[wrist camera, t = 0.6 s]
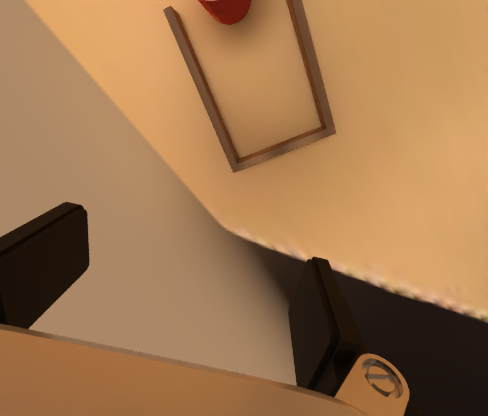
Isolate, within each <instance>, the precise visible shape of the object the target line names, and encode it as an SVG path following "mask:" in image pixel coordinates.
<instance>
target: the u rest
mask: <svg viewBox="0 0 488 416" xmlns="http://www.w3.org/2000/svg"><path fill="white" fill-rule="evenodd" d="M287 4H288V7H289V11H290V14H291V18H292V21H293V25H294V29H295V32H296V36H297V39H298V43H299V46H300V50H301V54H302V57H303V61H304V64H305V68H306V71H307V75H308V79H309V82H310V86H311V89H312V93H313V96H314V100H315V104H316V107H317V111H318V114H319V118H320V122H321V125H322V127H319V128H317V129H314V130H312V131H309V132H307V133H304V134H302V135H299V136H297V137H294V138H292V139H289V140H287V141H284V142H281V143H279V144H276V145H274V146H271V147H269V148H266V149H264V150H261V151H259V152H256V153H254V154H251V155H249V156H246V157H243V158H241V159H238V156H237V154H236V152H235V149H234V147H233V144H232V142H231V140H230V137H229V135H228V132H227V130H226V128H225V125H224V123H223V120H222V118H221V115H220V113H219V111H218V108H217V106H216V103H215V101H214V99H213V96H212V94H211V91H210V89H209V87H208V84H207V82H206V79H205V77H204V75H203V72H202V70H201V67H200V65H199V63H198V60H197V58H196V55H195V53H194V50H193V48H192V46H191V43H190V41H189V38H188V36H187V34H186V31H185V29H184V26H183V24H182V22H181V19H180V17H179V14H178V13H177V12H176V11H175V10H174V9H173V8H172V7H171V6H169V7H167V8H166V9H164V10H163V11H164V13H165V15H166V18H167V20H168V22H169V25H170V27H171V29H172V32H173V34H174V36H175V39H176V41H177V43H178V46H179V48H180V50H181V52H182V55H183V57H184V59H185V62H186V64H187V66H188V69H189V71H190V73H191V76H192V78H193V80H194V83H195V85H196V87H197V90H198V92H199V94H200V96H201V99H202V101H203V103H204V106H205V108H206V110H207V113H208V115H209V117H210V120H211V122H212V124H213V127H214V129H215V131H216V134H217V136H218V138H219V141H220V143H221V145H222V147H223V150H224V152H225V154H226V157H227V159H228V161H229V164H230V166H231V168H232V171H233V173H234V172H237V171H239V170H242V169H245V168H247V167H250V166H252V165H255V164H258V163H260V162H263V161H265V160H268V159H271V158H273V157H276V156H278V155H281V154H284V153H286V152H289V151H291V150H294V149H297V148H299V147H302V146H304V145H307V144H310V143H312V142H315V141H317V140H320V139H323V138H325V137H328V136H330V135H333V134H336V130H335V126H334V123H333V119H332V115H331V111H330V107H329V104H328V100H327V96H326V92H325V88H324V84H323V81H322V77H321V73H320V69H319V65H318V62H317V58H316V54H315V50H314V46H313V43H312V39H311V35H310V31H309V27H308V23H307V20H306V16H305V12H304V8H303V4H302V1H301V0H287Z"/></svg>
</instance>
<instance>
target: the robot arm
mask: <svg viewBox="0 0 488 416" xmlns="http://www.w3.org/2000/svg"><path fill="white" fill-rule="evenodd" d="M87 221H88V220H87V211H86V210H85V209H84V208H83V206H82V205H78V204H73V203H70V202H65V203H62V204H61V205H59V206H57V207H55V208H53V209H51V210H50V211H48V212H46V213H44V214H42V215H40V216H39V217H37V218H35V219H33V220H31V221H29V222H28V223H26V224H24V225H22V226H20V227H18V228H17V229H15V230H13V231H11V232H9V233H7V234H6V235H4V236H2V237H0V416H426V415H424V414H423V413H422V412H421V411H420V410H419V409H418V408H416V407H415V406H414V405H413V404H412V403H411V402H409V400H408V399H409V390H408V386H407V383H406V382H405V380H404V378H403V376H402V375H401V374H400V373H399V371H398V370H397V369H396V368H395V367H394V366H393V365H391V364H390V363H389V362H388V361H386V360H384V359H383V358H381V357H379V356H376V355H373V354H368V352H367V350H366V347H365V345H364V343H363V340H362V338H361V335H360V333H359V330H358V328H357V325H356V323H355V320H354V318H353V316H352V313H351V311H350V308H349V306H348V303H347V301H346V299H345V297H344V296H343V295H342V294H341V292H340V289H339V287H338V284H337V281H336V279H335V276H334V274H333V271H332V269H331V266H330V264H329V261H328V260H327V259H322V258H318V257H313V258H312V260H311V259H308V260H307V262H306V265H305V267H304V270H303V273H302V275H301V278H300V280H299V283H298V285H297V288H296V290H295V293H294V296H293V298H292V301H291V303H290V306H289V313H288V314H289V323H290V332H291V340H292V348H293V357H294V365H295V374H296V382H297V386H294V385H290V384H285V383H281V382H276V381H272V380H268V379H264V378H260V377H255V376H251V375H246V374H241V373H237V372H232V371H227V370H223V369H218V368H213V367H209V366H204V365H199V364H195V363H190V362H185V361H181V360H176V359H171V358H166V357H161V356H157V355H152V354H147V353H142V352H137V351H132V350H128V349H123V348H118V347H113V346H108V345H103V344H99V343H94V342H89V341H84V340H79V339H74V338H69V337H64V336H59V335H54V334H49V333H44V332H39V331H34V330H29V329H28V328H29V327H30V326H31V325H32V324H33V323H34V322H35V321H36V320H37V319H38V318H39V317H40V316H41V315H42V314H43V313H44V312H45V311H46V310H47V309H48V308H49V307H50V306H51V305H52V304H53V303H54V302H55V301H56V300H57V299H58V298H59V297H60V296H61V295H62V294H63V293H64V292H65V291H66V290H67V289H68V288H69V287H70V286H71V285H72V284H73V283H74V282H75V281H76V280H77V279H78V278H79V277H80V276H81V275H82V274H83V273H84V272H85V271H86V270H87V268H88V266H89V245H88V244H89V243H88V224H87V223H88V222H87Z"/></svg>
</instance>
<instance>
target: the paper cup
mask: <svg viewBox="0 0 488 416" xmlns="http://www.w3.org/2000/svg"><path fill="white" fill-rule="evenodd" d="M198 1H199V2H200V3H201V4H202V5H203V6H204V8H205V9H206V10H207V11H208V12H209V13H210V14H211V15H212V16H213V17H214V18H215V19H216V20H217V21H219V22H221V23H223V24H234V23H237V22H239V21H240V20H241V19H242V18H243V17H244V16H245V15H246V13H247V11H248V9H249V6H250V2H251V0H198Z"/></svg>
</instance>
